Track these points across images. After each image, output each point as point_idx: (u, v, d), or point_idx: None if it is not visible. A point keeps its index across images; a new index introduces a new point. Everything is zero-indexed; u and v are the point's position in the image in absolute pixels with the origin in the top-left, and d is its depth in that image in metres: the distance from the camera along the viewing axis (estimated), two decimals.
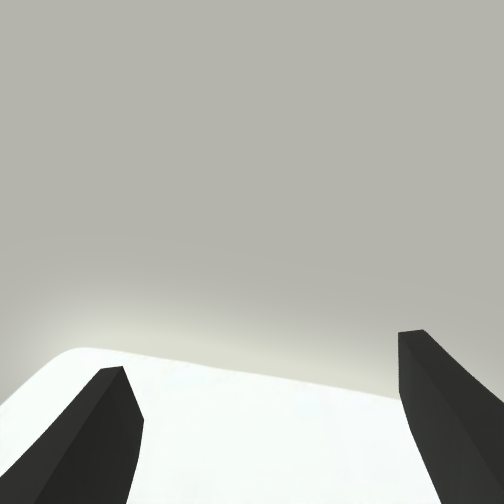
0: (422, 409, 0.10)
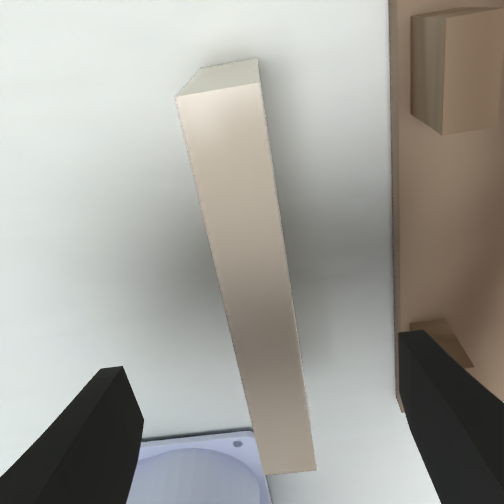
0: (422, 409, 0.10)
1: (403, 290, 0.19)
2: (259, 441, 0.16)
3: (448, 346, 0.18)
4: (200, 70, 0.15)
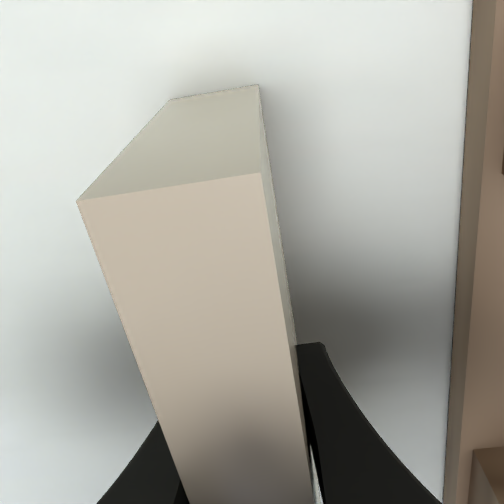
0: (308, 421, 0.10)
1: (467, 410, 0.13)
2: None
3: None
4: (165, 107, 0.09)
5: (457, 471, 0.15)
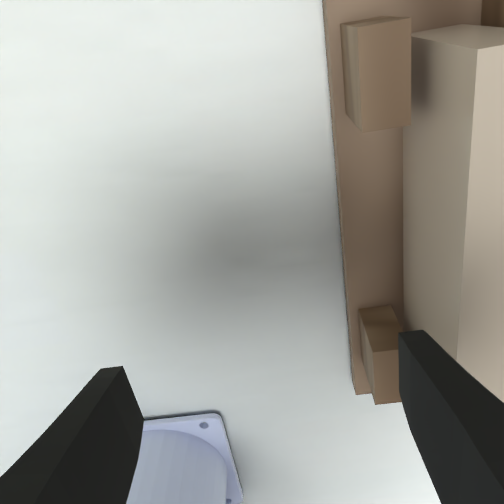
0: (422, 409, 0.10)
1: (350, 278, 0.20)
2: None
3: (389, 329, 0.19)
4: (413, 35, 0.15)
5: (350, 327, 0.22)
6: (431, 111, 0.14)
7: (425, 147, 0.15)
